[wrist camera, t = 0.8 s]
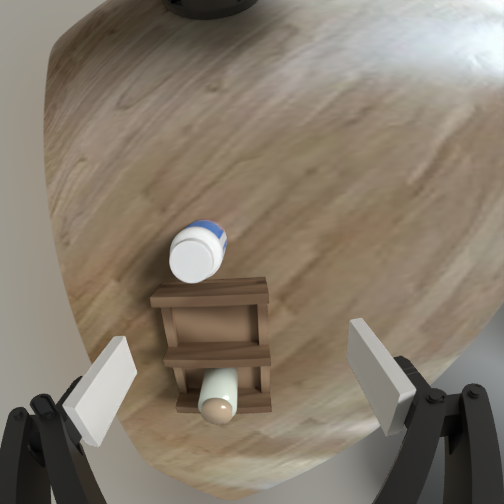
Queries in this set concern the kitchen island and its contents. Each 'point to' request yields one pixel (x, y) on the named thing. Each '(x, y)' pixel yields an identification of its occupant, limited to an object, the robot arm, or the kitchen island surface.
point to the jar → (219, 395)
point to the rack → (217, 337)
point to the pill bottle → (197, 251)
